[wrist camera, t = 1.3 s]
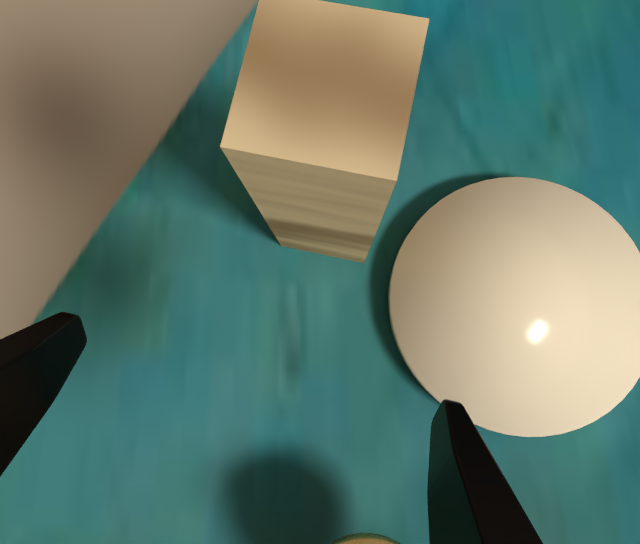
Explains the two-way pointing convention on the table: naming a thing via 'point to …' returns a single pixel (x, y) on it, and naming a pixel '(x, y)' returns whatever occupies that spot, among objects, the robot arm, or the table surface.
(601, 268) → the saucer
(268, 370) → the table surface
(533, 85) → the table surface
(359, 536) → the balance
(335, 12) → the birch block
